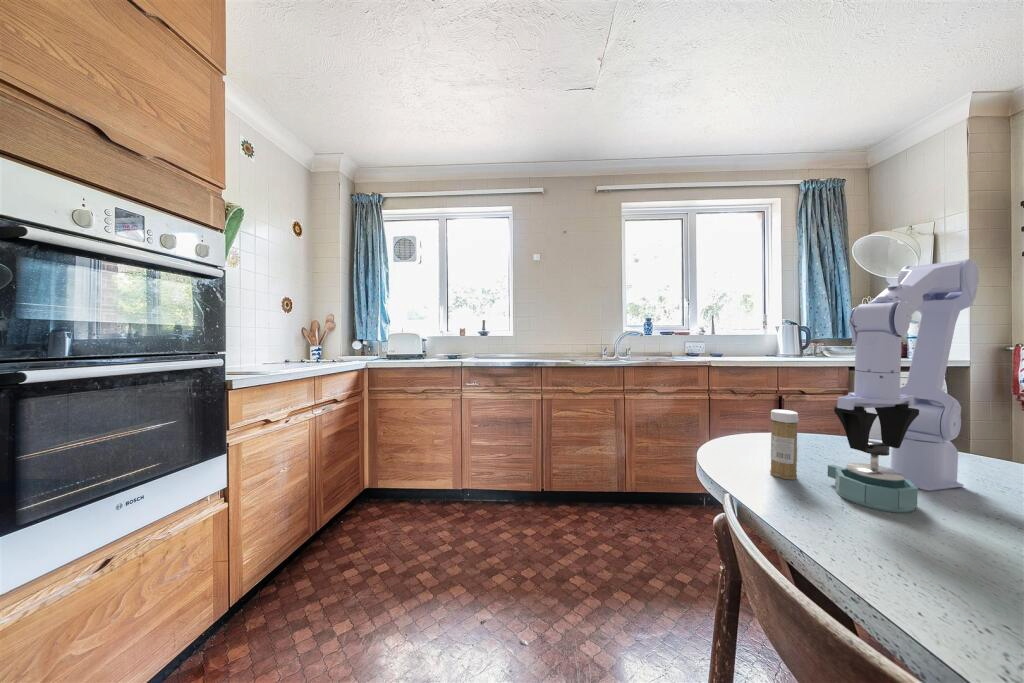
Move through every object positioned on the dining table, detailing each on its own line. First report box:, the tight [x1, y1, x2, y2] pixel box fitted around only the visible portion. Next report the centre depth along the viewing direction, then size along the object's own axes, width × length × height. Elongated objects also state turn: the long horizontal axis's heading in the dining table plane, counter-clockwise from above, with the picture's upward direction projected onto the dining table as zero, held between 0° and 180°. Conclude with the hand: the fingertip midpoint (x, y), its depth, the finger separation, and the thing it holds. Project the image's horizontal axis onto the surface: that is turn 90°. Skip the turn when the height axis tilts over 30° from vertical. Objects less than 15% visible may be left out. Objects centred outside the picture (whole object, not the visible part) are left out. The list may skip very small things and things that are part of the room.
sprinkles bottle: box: [769, 409, 799, 481], centre depth 76 cm, size 5×5×13 cm
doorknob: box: [846, 440, 904, 482], centre depth 65 cm, size 7×7×5 cm
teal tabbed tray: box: [827, 464, 919, 514], centre depth 67 cm, size 10×12×4 cm
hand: (874, 448), depth 65 cm, fingers open, 7 cm apart
